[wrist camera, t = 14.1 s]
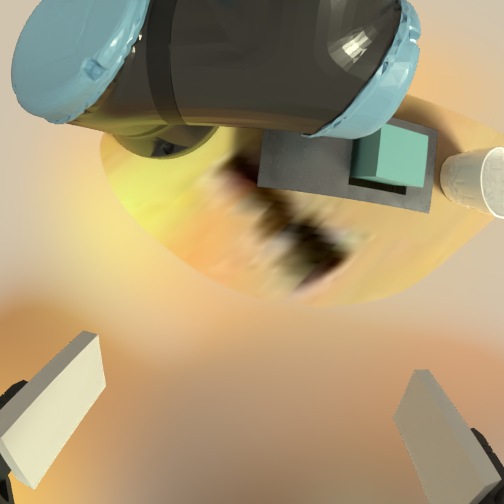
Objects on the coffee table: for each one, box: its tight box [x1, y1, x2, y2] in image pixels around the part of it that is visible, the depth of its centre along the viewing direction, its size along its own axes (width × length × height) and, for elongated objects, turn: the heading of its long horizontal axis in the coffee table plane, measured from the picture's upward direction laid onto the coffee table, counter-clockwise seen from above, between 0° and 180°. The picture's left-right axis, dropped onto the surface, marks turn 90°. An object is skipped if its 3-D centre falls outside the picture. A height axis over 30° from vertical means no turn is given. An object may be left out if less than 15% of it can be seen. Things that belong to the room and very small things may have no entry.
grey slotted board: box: [257, 117, 437, 213], centre depth 32 cm, size 20×10×4 cm, turn 84°
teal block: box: [349, 124, 428, 188], centre depth 29 cm, size 5×5×10 cm
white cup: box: [440, 147, 504, 218], centre depth 29 cm, size 8×8×10 cm
